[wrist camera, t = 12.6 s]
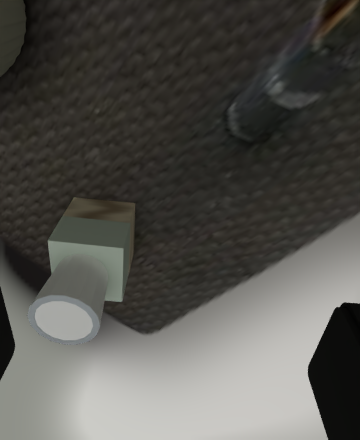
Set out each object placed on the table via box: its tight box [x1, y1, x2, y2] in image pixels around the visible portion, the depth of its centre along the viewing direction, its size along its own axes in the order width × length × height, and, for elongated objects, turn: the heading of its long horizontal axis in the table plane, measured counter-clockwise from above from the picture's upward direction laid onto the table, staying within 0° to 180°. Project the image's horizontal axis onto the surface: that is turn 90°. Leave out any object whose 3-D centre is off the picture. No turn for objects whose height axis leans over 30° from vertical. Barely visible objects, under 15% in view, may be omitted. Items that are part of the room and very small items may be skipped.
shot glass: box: [28, 254, 108, 345], centre depth 36 cm, size 7×7×7 cm
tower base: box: [63, 197, 135, 274], centre depth 45 cm, size 8×8×5 cm
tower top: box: [48, 216, 130, 302], centre depth 41 cm, size 8×8×5 cm
